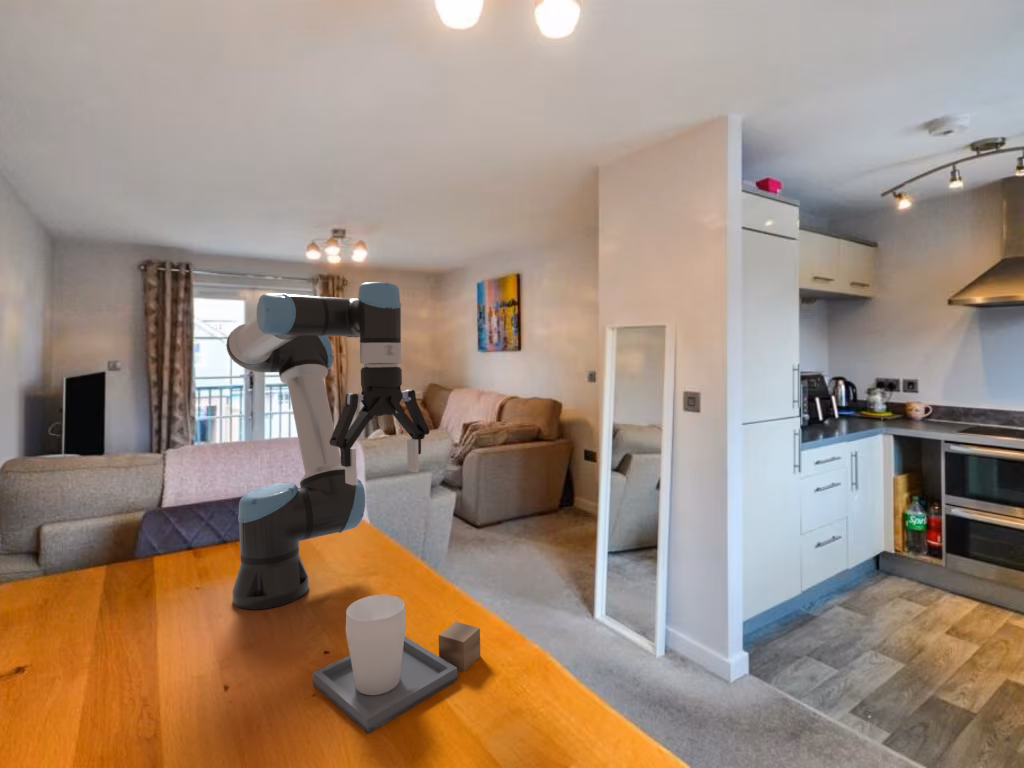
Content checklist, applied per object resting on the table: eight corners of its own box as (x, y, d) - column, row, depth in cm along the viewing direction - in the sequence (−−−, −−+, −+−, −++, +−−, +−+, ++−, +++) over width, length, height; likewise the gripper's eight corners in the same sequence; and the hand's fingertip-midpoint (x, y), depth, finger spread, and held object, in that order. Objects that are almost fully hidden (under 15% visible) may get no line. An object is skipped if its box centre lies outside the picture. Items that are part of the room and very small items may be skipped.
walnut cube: (439, 664, 87) (438, 634, 87) (456, 649, 92) (455, 621, 91) (464, 672, 85) (463, 642, 85) (480, 656, 89) (479, 628, 89)
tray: (313, 684, 82) (312, 672, 82) (398, 643, 94) (398, 632, 93) (367, 733, 71) (367, 719, 71) (457, 680, 83) (457, 667, 82)
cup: (392, 705, 76) (390, 624, 75) (336, 697, 78) (333, 618, 77) (416, 668, 85) (414, 596, 84) (365, 662, 87) (363, 592, 86)
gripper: (328, 367, 87) (331, 493, 88) (445, 364, 105) (447, 469, 106) (307, 367, 92) (311, 486, 93) (423, 364, 110) (424, 464, 111)
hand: (383, 477), depth 100 cm, fingers open, 13 cm apart
